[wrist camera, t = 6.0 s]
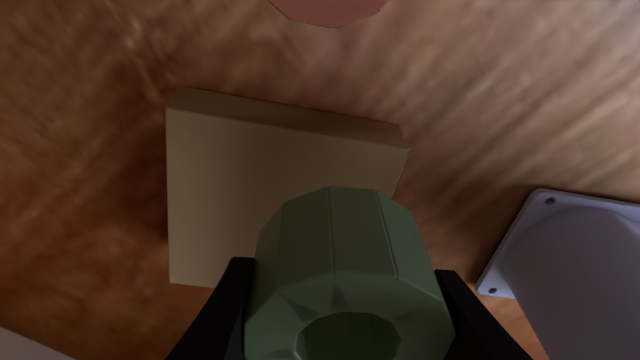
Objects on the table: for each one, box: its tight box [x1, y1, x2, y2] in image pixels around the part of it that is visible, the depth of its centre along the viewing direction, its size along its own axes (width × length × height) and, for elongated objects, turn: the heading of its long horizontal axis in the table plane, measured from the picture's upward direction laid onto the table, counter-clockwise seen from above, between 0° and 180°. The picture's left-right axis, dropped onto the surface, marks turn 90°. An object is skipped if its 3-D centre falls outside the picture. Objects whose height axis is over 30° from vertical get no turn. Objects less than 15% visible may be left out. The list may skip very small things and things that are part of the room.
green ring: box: [243, 186, 456, 360], centre depth 12 cm, size 6×6×4 cm
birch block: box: [165, 87, 409, 288], centre depth 19 cm, size 10×10×2 cm
